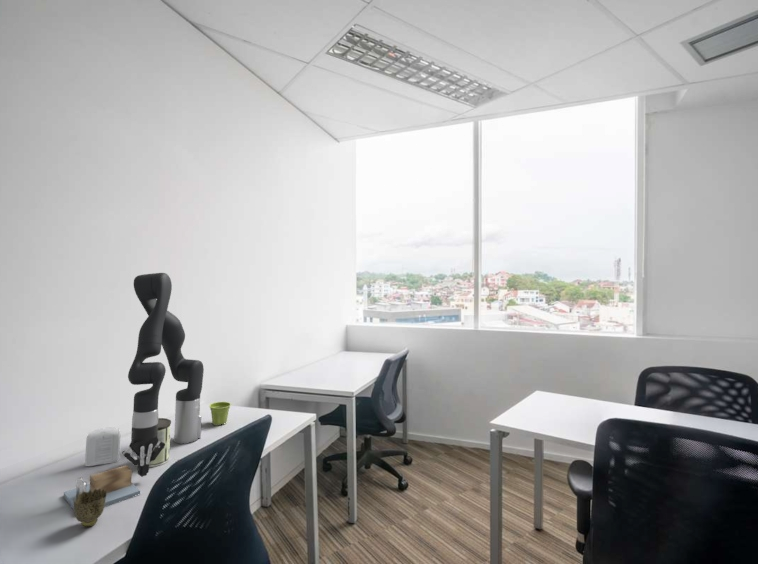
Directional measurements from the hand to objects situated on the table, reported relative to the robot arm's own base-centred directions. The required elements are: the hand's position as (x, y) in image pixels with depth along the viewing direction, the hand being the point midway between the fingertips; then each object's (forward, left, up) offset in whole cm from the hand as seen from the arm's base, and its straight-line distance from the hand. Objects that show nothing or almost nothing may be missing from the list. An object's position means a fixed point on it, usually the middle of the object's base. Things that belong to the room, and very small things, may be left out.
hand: (142, 475), depth 134 cm
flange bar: (+9, 0, -1) cm, 9 cm away
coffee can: (-9, -13, -2) cm, 16 cm away
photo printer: (+4, -24, -2) cm, 25 cm away
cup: (+18, +14, -2) cm, 23 cm away
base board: (+11, 0, -2) cm, 12 cm away
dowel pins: (+17, 0, -1) cm, 17 cm away
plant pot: (-45, -32, -2) cm, 55 cm away
